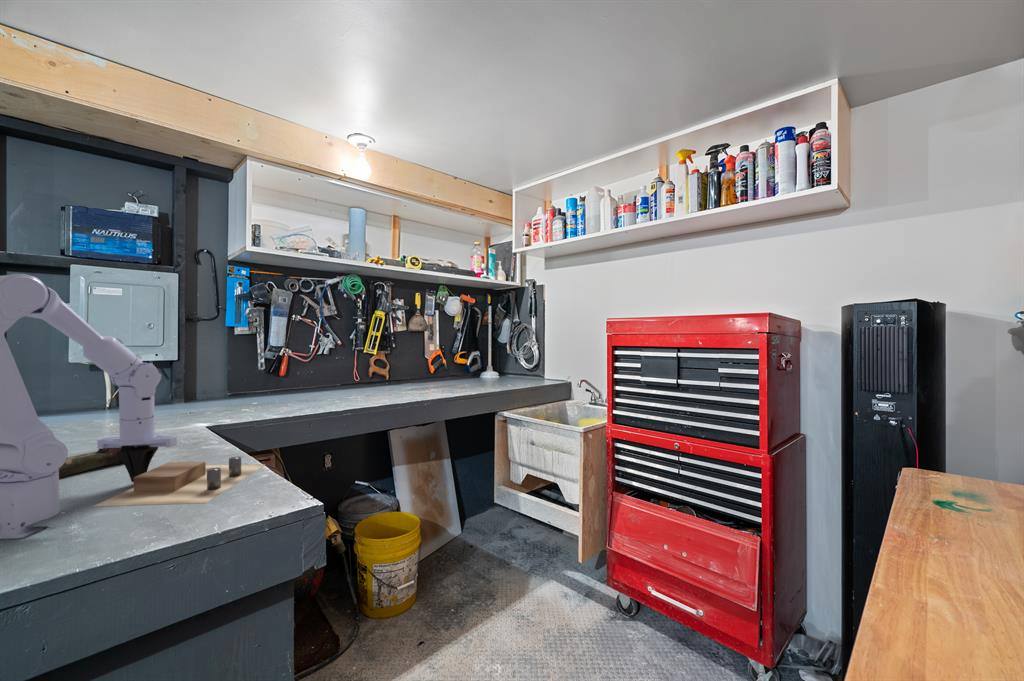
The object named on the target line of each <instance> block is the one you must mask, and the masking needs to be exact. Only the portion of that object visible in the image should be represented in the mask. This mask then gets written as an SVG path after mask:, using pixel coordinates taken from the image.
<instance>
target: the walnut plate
mask: <svg viewBox="0 0 1024 681" xmlns="http://www.w3.org/2000/svg"><path fill="white" fill-rule="evenodd" d="M205 466H206V461H185V462H184V461H183V462H182V461H181V462H179V461H178V462H172V461H171V462H167V463H164V464H162V465H159V466H157V467H155V468H152V469H150V470H147V472H145V473H143V474H141V475H138V476H136V477H134V478H133V480H134V482H133V488H134V492H156V491H176V490H178V489H180V488H182V487H184V486H185V485H187V484H189V483H191V482H193V481H195V480H197V479H198V478H200V477H202V476H204V475H206V469H205Z"/></svg>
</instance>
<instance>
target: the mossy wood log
mask: <svg viewBox="0 0 1024 681" xmlns="http://www.w3.org/2000/svg"><path fill="white" fill-rule="evenodd" d="M118 451H121V448H103V449H98V450H97V451H93V452H87V453H83V454H77V455H73V456H67V459H66V461H65V463H64V464H63V465H62V466H61V467H60V468H59V479H62V478H64V477H68V476H72V475H75V474H78V473H83V472H86V471H90V470H93V469H98V468H102V467H107V466H114V465H120V464H123V462H122V461H121V460H120V458H119V457H118V456H117V455H116V452H118Z"/></svg>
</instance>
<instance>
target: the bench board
mask: <svg viewBox="0 0 1024 681" xmlns="http://www.w3.org/2000/svg"><path fill="white" fill-rule="evenodd" d="M261 464H262V465H261ZM261 464H242V456H231V457H229V458H228V464H221V465H219V464H218V465H215V464H214V465H210V464H209V465H207V464H206V465H205V469H206V475H204V476H202V477H200V478H198V479H197V480H195V481H193V482H191V483H189V484H187V485H185V486H184V487H182V488H180V489H178V490H176V491H156V492H134V487H132V488H130V489H127V490H126V491H123V492H120V493H118V494H117V495H115V496H113V497H110V498H108V499H105V500H104V501H101V502H100V503H97V504H95V505H93V506H92V507H93V508H94V507H125V506H126V507H127V506H128V507H129V506H157V505H158V506H159V505H160V506H162V505H166V506H167V505H194V504H207V503H208V502H210V501H211V500H213V499H214V498H216V497H217V496H219V495H221V494H222V493H224V492H225V491H227V490H228V489H230V488H231V487H233V486H235V485H236V484H237V483H239V482H241V481H242V480H244V479H245V478H247V477H249V476H250V475H252V474H253V473H255V472H257V471H258V470H260V469H261V468H262V467H264V466H266V463H265V464H264V463H261Z"/></svg>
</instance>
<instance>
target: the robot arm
mask: <svg viewBox="0 0 1024 681" xmlns="http://www.w3.org/2000/svg"><path fill="white" fill-rule="evenodd" d="M23 317H28V318H33V319H39V320H42V321H44V322H46V324H49V325H50V326H51V327H53V328H55V329H56V330H57V331H59V332H61V334H63V335H65V336H67V337H68V338H69V339H71V340H72V341H73V342H76V343H77V344H78V345H79V346H81V347H83V349H82V354H83V357H84V358H86V359H87V360H88V361H90V362H91V363H92V364H94V365H95V366H96V367H98V368H99V369H100V370H102V371H103V372H104V373H106V374H108V376H110V381H111V384H113V385H114V386H117V387H118V411H119V416H118V417H119V436H113V437H103V438H100V439H99V438H98V439H97V449H98V450H99V449H103V448H121V451H118V452H116V455H117V456H118V457H119V458H120V460H121V461H122V462H123V463H122V464H123V465H124V467H125V469H126V470H127V473H128V475H129V478H130V481H131V483H134V480H133V478H134V477H136V476H138V475H141V474H143V473H145V472H148V471H149V466H150V464H151V461H152V460H153V458H154V456H155V454H156V453H157V451H158V450H159V448H163V447H165V448H172V447H175V446H177V443H178V442H177V441H178V440H177V436H176V435H175V436H173V435H171V436H169V435H160V434H159V435H157V434H156V429H155V428H156V425H155V424H156V422H155V420H156V419H155V418H156V417H155V409H156V408H155V394H156V393H157V392H156V391H157V390H156V389H157V386H158V385H159V383H160V381H161V380H162V374H161V373H160V372H159V370H158V368H157V367H156V366H155V365H154V364H152V363H150V362H143V360H142V359H143V357H142V356H141V355H139V354H135V353H134V352H133V351H131V350H130V349H129V348H128V347H126V345H124V343H125V341H124V340H123V339H122V338H120V337H118V338H117V337H114V336H110V335H101V334H100V333H99V332H98V331H96V329H94V328H93V327H92V326H91V325H89V323H88V322H86V321H85V320H84V319H83V318H82V317H81V316H80V315H79V314H78V313H76V311H74V310H73V309H72V308H71V307H70V306H69V305H67V304H66V303H65V302H64V301H63V300H62V299H61V298H60V296H59V294H58V293H57V292H56V291H55V290H54V289H52V288H50V287H49V286H46V285H45V283H44V282H42V281H41V279H39V278H38V277H35V276H32V275H30V274H26V273H14V274H13V273H12V274H8V275H7V274H6V275H5V274H4V275H0V540H9V539H13V540H14V539H23V538H26V537H29V536H31V535H32V534H34V533H37V532H39V531H41V530H43V529H45V528H48V527H49V526H48V525H45V526H44V525H43V526H42V525H40V526H30V525H33V524H35V523H38V522H40V521H44V520H47V519H49V518H52V517H54V516H56V515H58V514H59V513H60V511H61V509H60V478H59V468H60V467H61V466H62V465H63V464H64V463H65V461H66V459H67V458H68V457H69V456H68V454H69V453H68V448H67V446H66V444H65V443H64V442H62V441H60V440H58V439H57V438H56V436H55V434H54V431H53V430H52V428H50V427H49V426H47V425H46V424H45V423H44V422H43V421H41V420H40V419H39V417H38V413H37V411H36V409H35V407H34V404H33V402H32V400H31V397H30V395H29V393H28V390H27V388H26V385H25V383H24V380H23V378H22V375H21V373H20V370H19V368H18V366H17V363H16V360H15V358H14V356H13V354H12V350H11V348H10V346H9V343H8V342H7V338H6V337H5V333H6V332H7V331H8V330H9V329H10V328H11V327H12V326H13V325H14V324H15V323H16V322H17V321H18V320H20V319H21V318H23Z"/></svg>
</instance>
